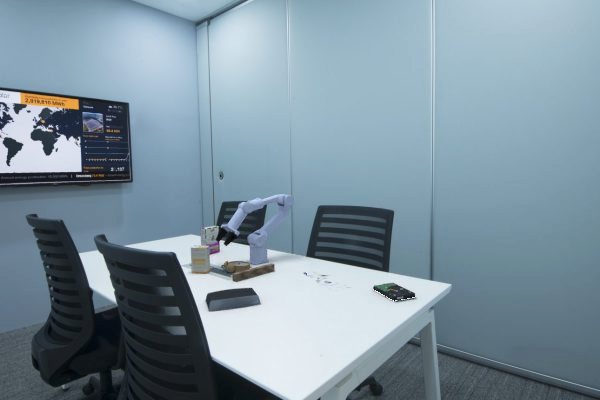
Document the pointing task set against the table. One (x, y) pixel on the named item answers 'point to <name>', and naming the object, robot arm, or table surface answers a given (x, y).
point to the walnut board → (253, 272)
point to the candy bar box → (210, 238)
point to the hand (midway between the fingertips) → (220, 243)
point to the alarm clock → (236, 266)
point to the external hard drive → (232, 299)
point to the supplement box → (200, 259)
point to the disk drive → (394, 291)
